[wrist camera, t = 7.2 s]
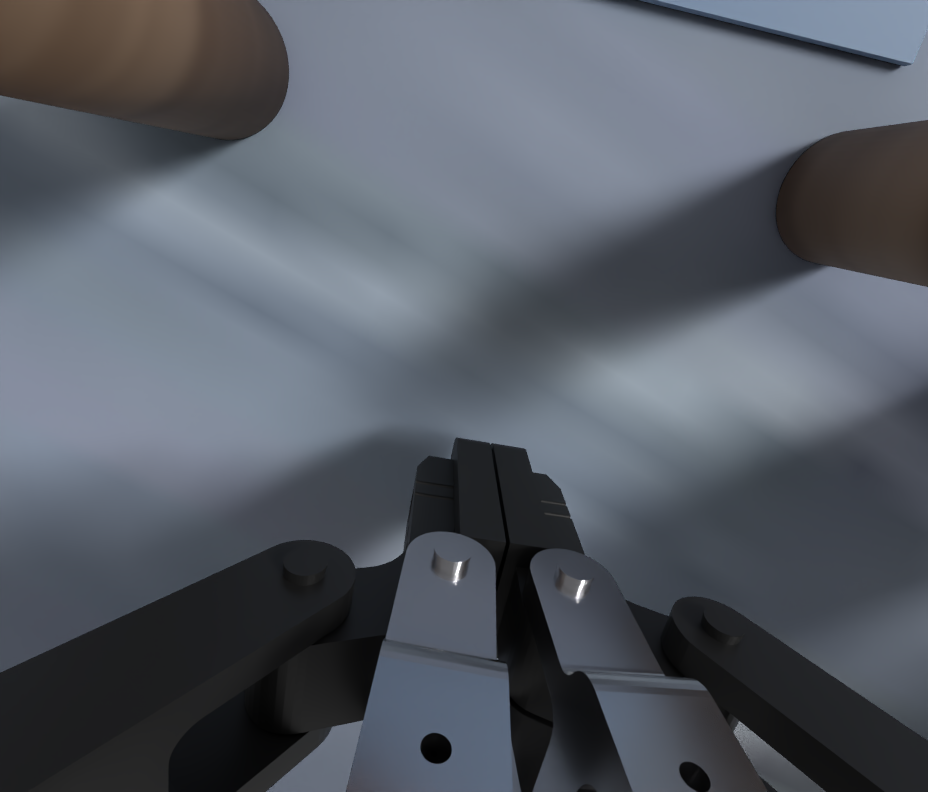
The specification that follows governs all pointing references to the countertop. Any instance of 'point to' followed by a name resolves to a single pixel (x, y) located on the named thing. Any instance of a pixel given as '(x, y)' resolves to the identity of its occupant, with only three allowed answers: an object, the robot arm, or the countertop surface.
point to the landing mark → (827, 22)
